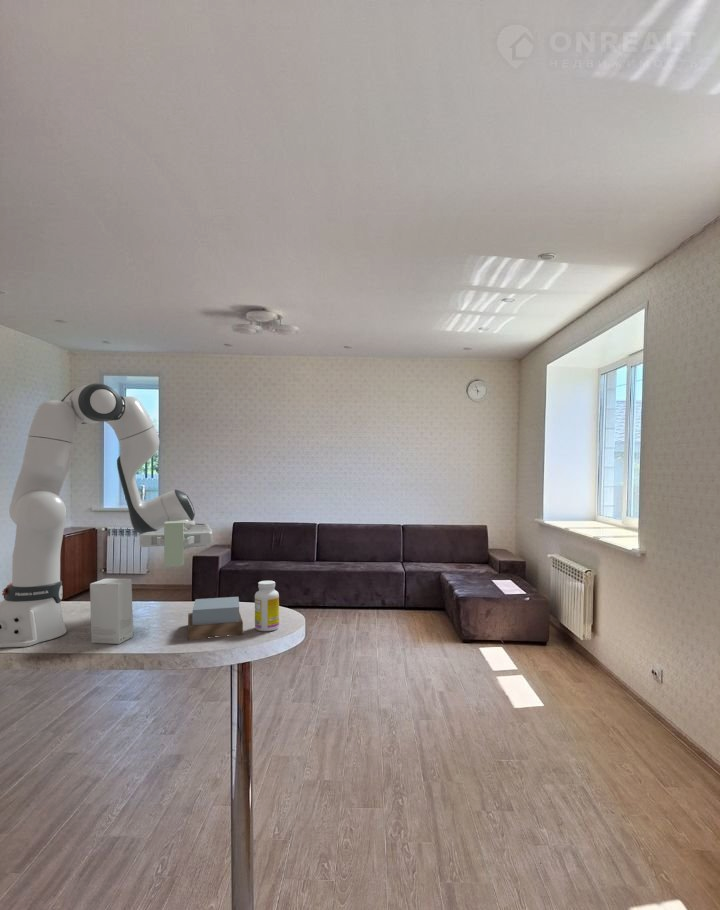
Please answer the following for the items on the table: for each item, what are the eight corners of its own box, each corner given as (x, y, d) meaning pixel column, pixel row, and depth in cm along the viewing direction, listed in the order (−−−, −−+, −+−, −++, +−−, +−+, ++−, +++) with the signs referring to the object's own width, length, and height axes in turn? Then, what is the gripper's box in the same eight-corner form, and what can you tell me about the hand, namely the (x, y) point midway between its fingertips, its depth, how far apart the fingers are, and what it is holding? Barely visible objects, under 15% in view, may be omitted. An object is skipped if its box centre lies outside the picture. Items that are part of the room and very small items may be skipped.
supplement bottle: (281, 625, 152) (281, 579, 152) (275, 632, 145) (275, 585, 146) (258, 624, 153) (258, 579, 153) (251, 631, 146) (251, 584, 146)
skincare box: (133, 637, 142) (134, 578, 142) (117, 645, 135) (117, 583, 136) (106, 635, 144) (106, 577, 144) (88, 643, 137) (89, 582, 138)
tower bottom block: (188, 642, 139) (188, 627, 140) (188, 627, 153) (188, 613, 153) (242, 637, 144) (242, 622, 144) (238, 622, 157) (238, 609, 157)
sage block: (164, 567, 147) (164, 523, 147) (165, 563, 152) (165, 521, 152) (183, 565, 148) (183, 522, 149) (183, 562, 153) (183, 520, 153)
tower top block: (192, 625, 141) (192, 610, 141) (195, 613, 153) (195, 599, 153) (239, 622, 144) (239, 607, 144) (238, 610, 156) (238, 596, 156)
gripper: (143, 526, 161) (134, 532, 147) (214, 524, 165) (211, 529, 152) (143, 547, 161) (134, 555, 147) (214, 544, 165) (211, 551, 151)
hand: (173, 542), depth 149 cm, fingers closed on sage block, 5 cm apart
